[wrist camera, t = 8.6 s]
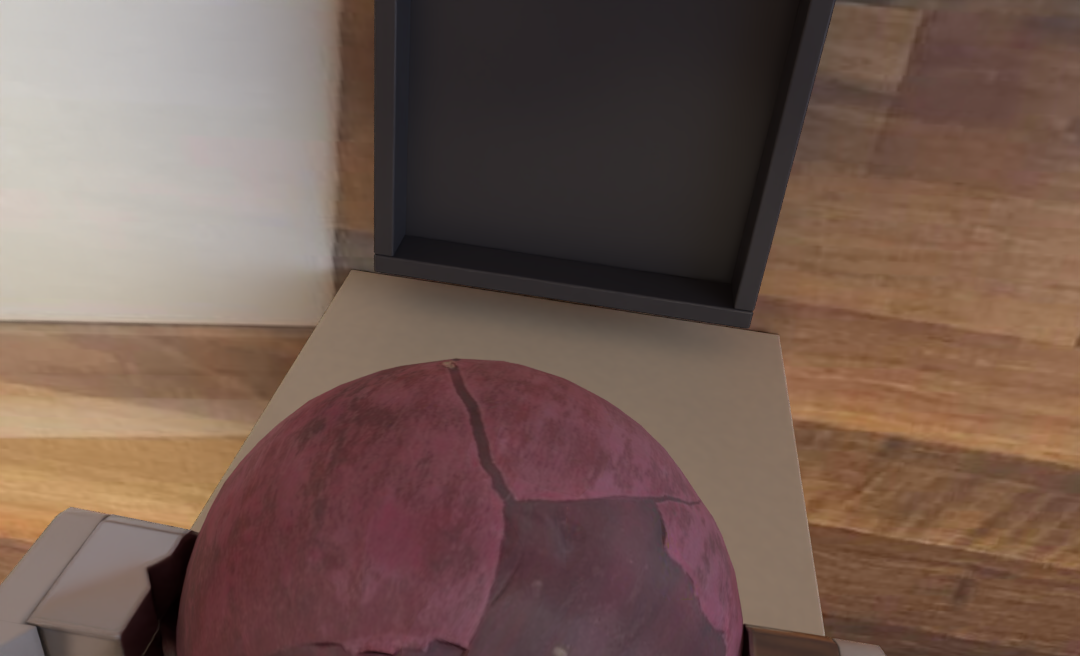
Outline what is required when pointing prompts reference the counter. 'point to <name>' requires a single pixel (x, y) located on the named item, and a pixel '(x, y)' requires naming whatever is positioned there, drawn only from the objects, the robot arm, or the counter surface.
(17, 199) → the counter surface
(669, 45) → the pan
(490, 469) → the vegetable
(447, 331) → the column
